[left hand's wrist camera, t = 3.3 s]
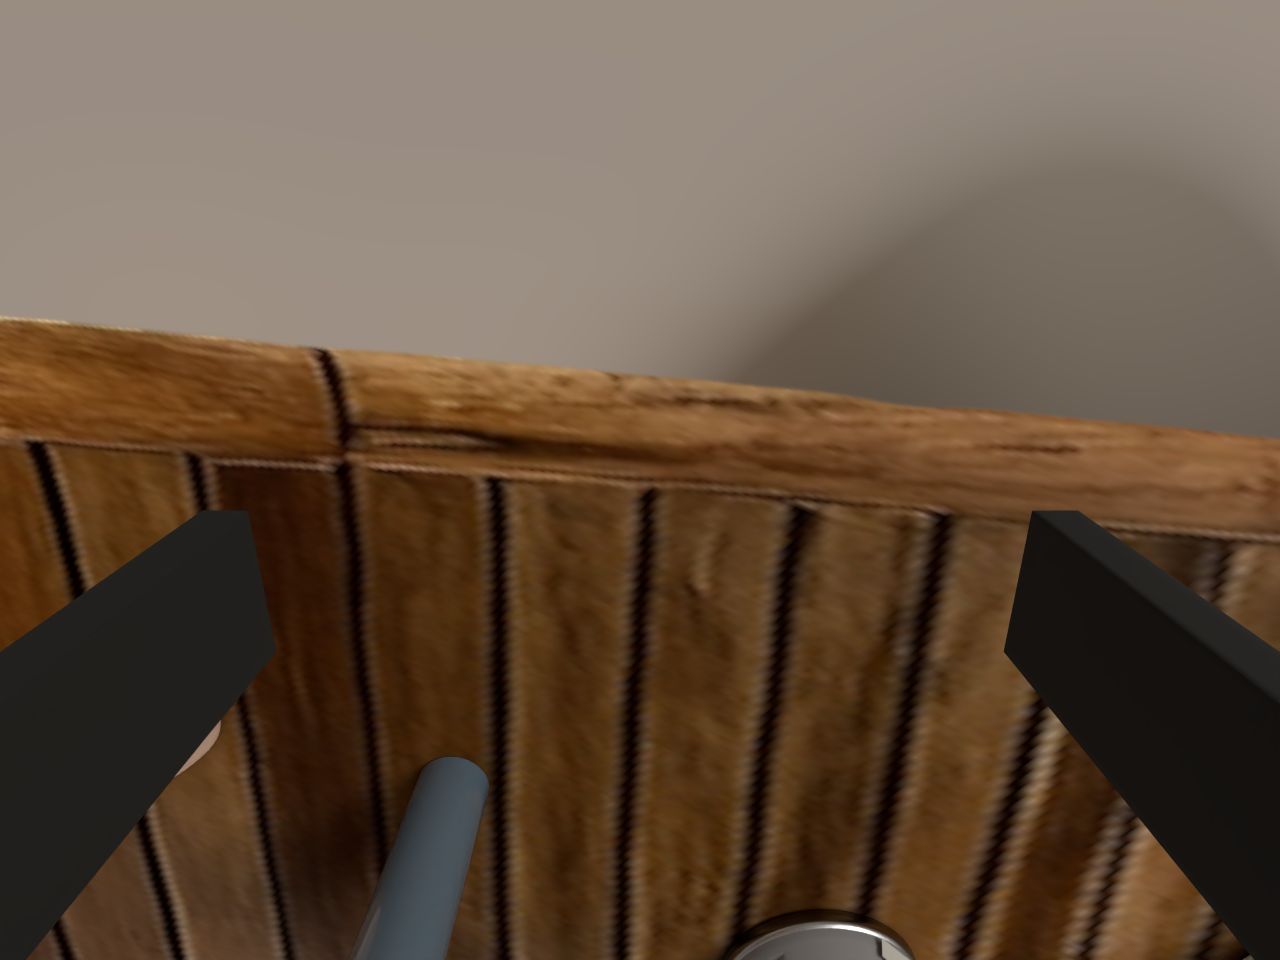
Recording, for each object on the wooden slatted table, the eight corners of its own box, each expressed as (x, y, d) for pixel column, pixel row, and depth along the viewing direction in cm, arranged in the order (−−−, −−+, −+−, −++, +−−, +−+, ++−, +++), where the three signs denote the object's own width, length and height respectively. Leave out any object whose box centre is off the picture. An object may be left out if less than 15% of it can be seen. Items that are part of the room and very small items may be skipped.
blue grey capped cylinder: (501, 773, 49) (437, 1032, 34) (471, 821, 51) (398, 1091, 35) (435, 745, 48) (339, 998, 33) (407, 795, 50) (303, 1060, 34)
